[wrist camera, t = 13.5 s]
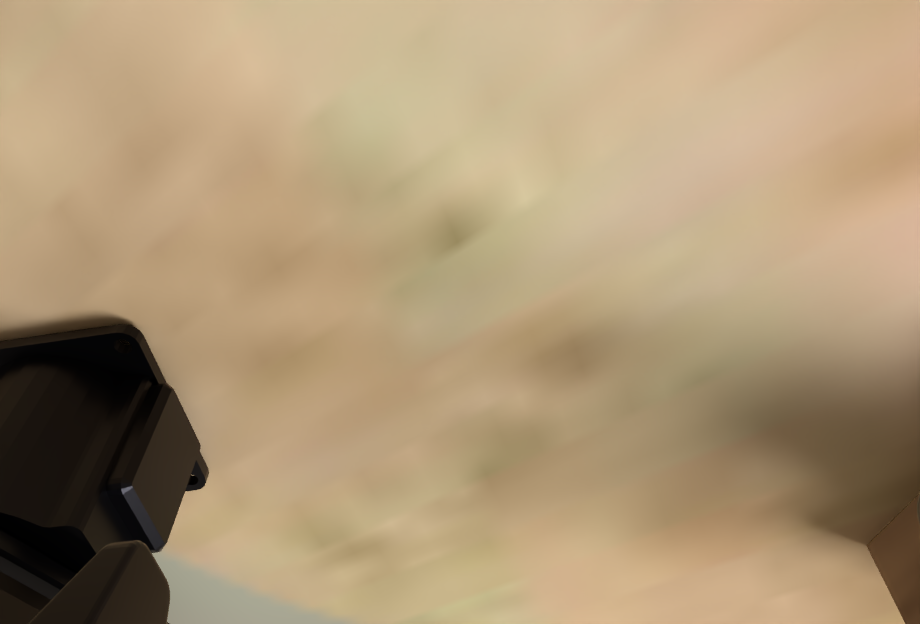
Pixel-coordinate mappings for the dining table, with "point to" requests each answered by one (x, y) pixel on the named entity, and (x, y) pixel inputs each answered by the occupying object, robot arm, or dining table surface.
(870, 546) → the walnut block
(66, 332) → the robot arm
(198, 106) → the dining table surface
